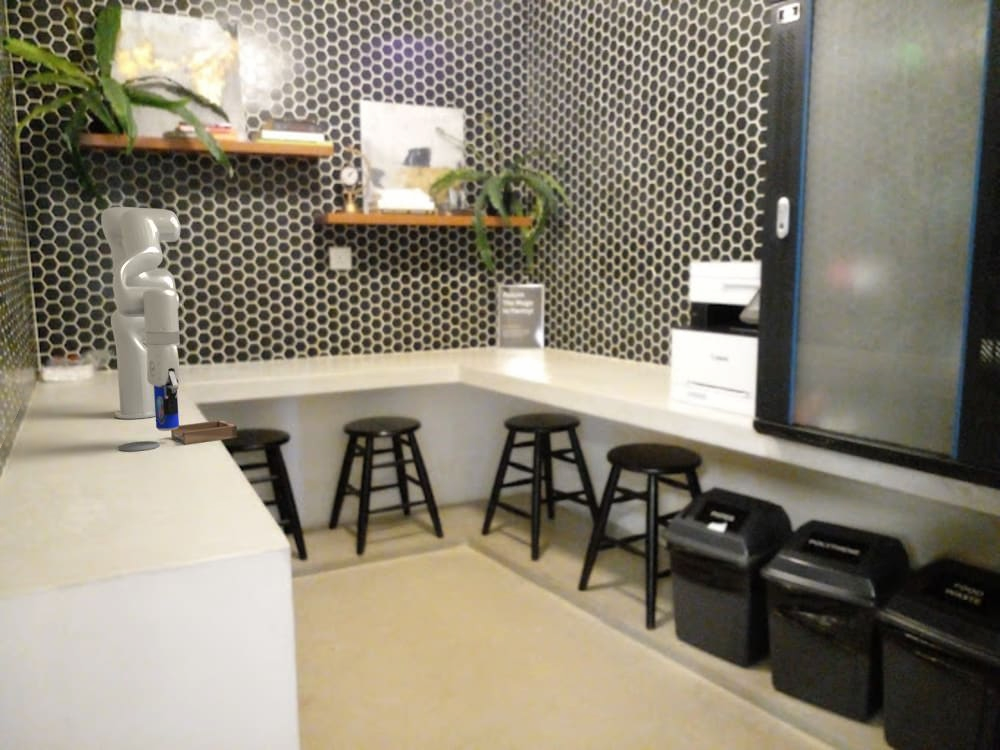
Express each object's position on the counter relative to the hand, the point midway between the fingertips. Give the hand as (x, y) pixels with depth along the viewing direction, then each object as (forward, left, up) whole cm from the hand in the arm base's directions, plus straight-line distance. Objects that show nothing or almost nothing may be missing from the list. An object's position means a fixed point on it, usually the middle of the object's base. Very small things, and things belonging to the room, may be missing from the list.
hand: (166, 411), depth 185 cm
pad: (0, -7, -8) cm, 10 cm away
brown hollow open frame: (0, +9, -8) cm, 12 cm away
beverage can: (0, 0, -4) cm, 4 cm away
